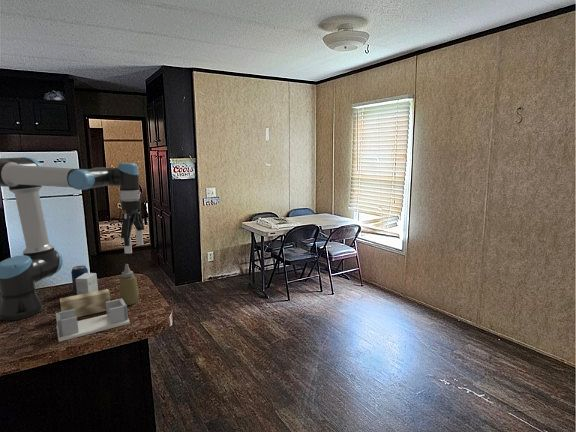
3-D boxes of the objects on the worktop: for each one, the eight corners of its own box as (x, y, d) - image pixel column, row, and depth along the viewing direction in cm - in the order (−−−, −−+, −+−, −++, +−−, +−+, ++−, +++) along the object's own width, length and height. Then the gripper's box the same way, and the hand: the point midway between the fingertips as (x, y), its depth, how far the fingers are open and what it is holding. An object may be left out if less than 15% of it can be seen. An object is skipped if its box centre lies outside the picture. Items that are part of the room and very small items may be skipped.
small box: (87, 293, 174) (85, 272, 172) (98, 293, 173) (96, 272, 172) (77, 300, 166) (74, 278, 164) (89, 300, 166) (86, 278, 164)
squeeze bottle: (126, 308, 157) (122, 268, 154) (116, 303, 162) (112, 265, 159) (143, 302, 164) (140, 263, 160) (133, 297, 168) (130, 260, 165)
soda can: (72, 290, 178) (69, 266, 176) (88, 287, 182) (86, 264, 180) (74, 294, 172) (71, 270, 170) (90, 291, 176) (88, 267, 174)
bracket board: (58, 341, 130) (56, 323, 129) (56, 328, 140) (54, 311, 138) (129, 323, 143) (128, 306, 142) (123, 312, 153) (122, 296, 152)
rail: (62, 320, 146) (60, 302, 145) (62, 316, 150) (59, 298, 149) (111, 309, 156) (109, 292, 155) (109, 306, 160) (108, 288, 159)
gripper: (128, 204, 141) (132, 257, 144) (149, 196, 165) (152, 241, 169) (108, 204, 140) (113, 257, 144) (132, 196, 165) (135, 241, 169)
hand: (134, 248), depth 157 cm, fingers open, 13 cm apart
